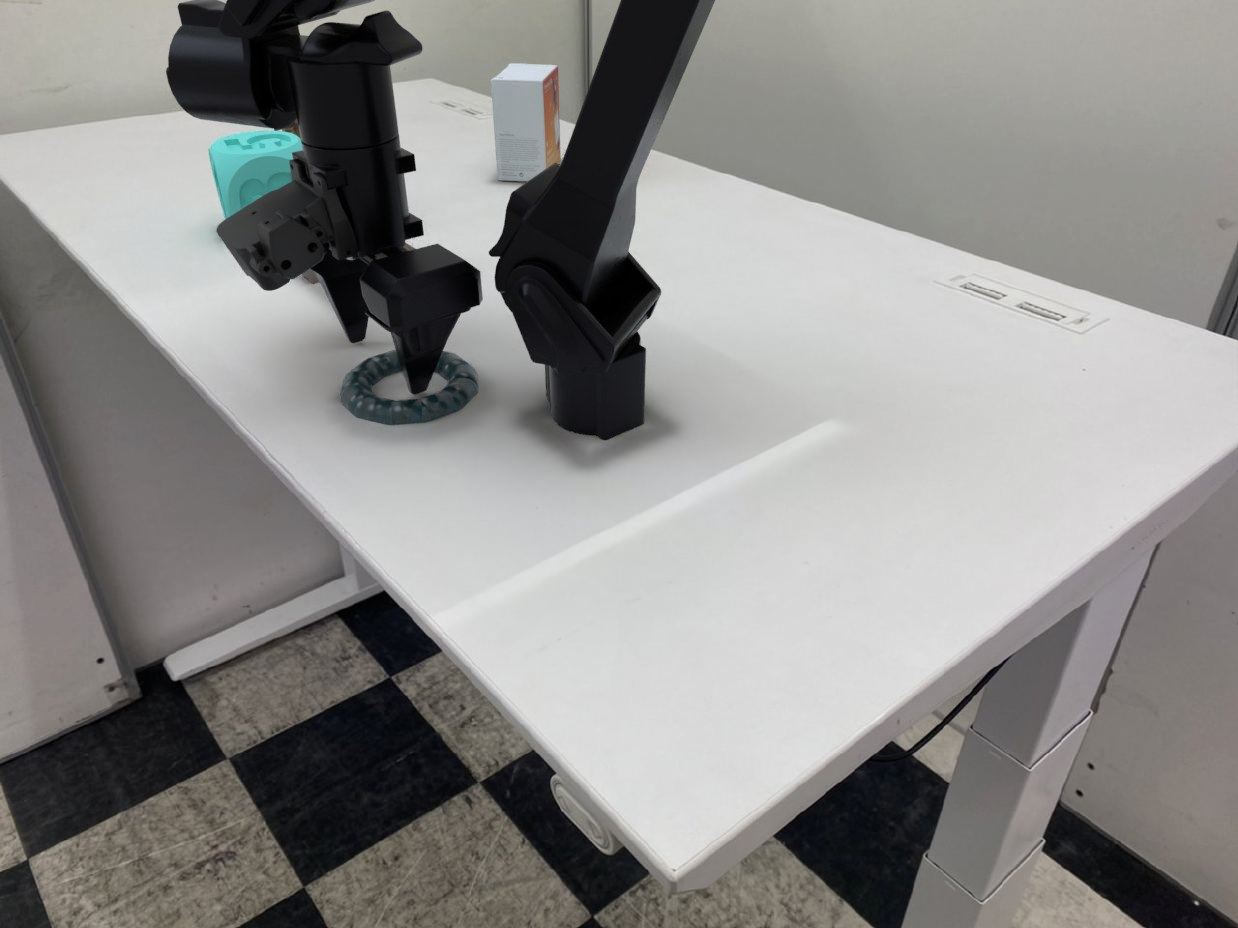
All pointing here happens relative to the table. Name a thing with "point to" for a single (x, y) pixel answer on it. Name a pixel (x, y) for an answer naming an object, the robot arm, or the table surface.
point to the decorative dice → (251, 166)
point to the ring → (408, 411)
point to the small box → (526, 120)
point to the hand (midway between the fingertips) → (386, 365)
